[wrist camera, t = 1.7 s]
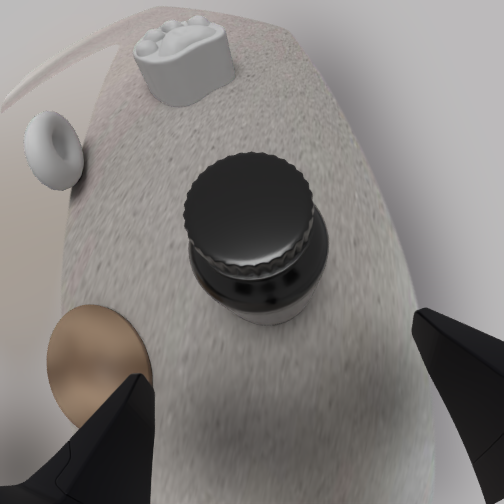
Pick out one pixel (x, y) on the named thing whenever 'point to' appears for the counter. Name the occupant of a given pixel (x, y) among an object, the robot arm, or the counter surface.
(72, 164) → the donut
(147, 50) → the lumpy-topped squat cylinder
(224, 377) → the counter surface
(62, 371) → the walnut trivet
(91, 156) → the counter surface
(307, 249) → the supplement bottle
